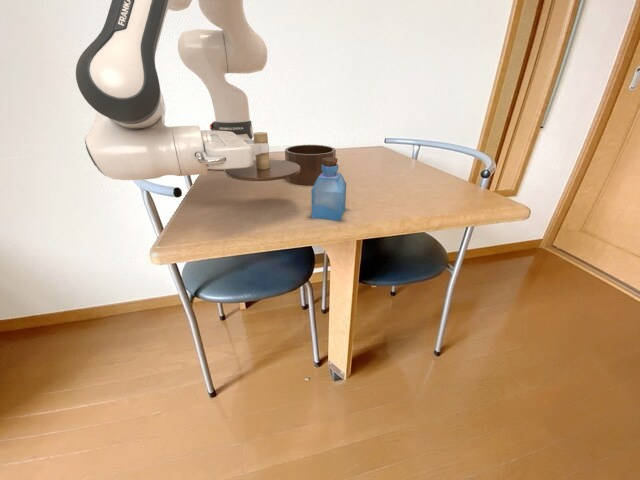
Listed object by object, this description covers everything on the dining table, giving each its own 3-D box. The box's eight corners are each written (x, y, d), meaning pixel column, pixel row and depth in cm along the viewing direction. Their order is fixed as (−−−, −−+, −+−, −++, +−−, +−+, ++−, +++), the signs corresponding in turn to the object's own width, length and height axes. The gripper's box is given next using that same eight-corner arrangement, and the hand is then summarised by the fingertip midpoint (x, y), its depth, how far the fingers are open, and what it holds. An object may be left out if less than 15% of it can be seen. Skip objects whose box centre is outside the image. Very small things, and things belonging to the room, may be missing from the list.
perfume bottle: (345, 209, 68) (347, 156, 62) (340, 220, 62) (342, 163, 57) (318, 207, 69) (319, 155, 63) (311, 217, 64) (311, 161, 58)
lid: (208, 177, 61) (201, 135, 57) (258, 161, 73) (255, 126, 69) (270, 189, 54) (267, 142, 50) (314, 169, 66) (313, 131, 62)
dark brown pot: (285, 185, 83) (284, 155, 79) (287, 171, 96) (286, 144, 92) (337, 185, 84) (338, 154, 80) (332, 171, 97) (332, 144, 93)
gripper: (194, 142, 46) (279, 136, 51) (188, 126, 63) (253, 123, 68) (201, 181, 49) (281, 173, 54) (193, 156, 66) (255, 152, 71)
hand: (265, 145), depth 61 cm, fingers closed on lid, 3 cm apart
